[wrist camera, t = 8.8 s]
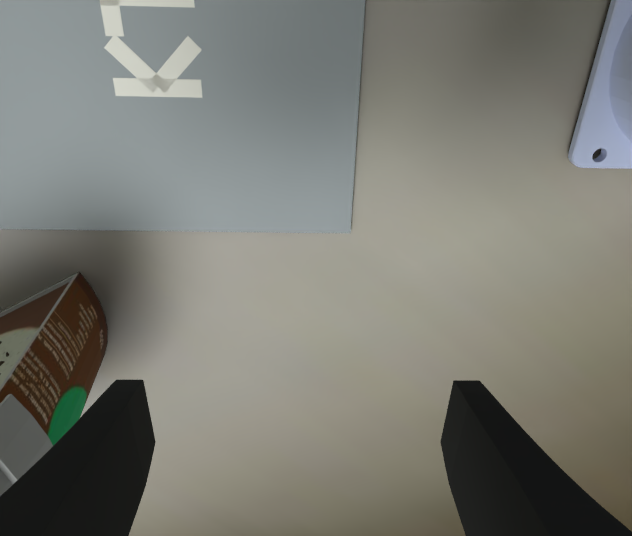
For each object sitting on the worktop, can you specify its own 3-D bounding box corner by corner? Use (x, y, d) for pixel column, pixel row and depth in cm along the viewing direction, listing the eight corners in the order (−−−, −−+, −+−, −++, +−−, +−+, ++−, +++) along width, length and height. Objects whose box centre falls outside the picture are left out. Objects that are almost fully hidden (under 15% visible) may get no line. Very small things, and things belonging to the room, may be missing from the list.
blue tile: (379, -238, 13) (380, -242, 13) (349, 231, 20) (350, 233, 20) (-154, -261, 13) (-161, -264, 13) (1, 227, 20) (-2, 229, 20)
